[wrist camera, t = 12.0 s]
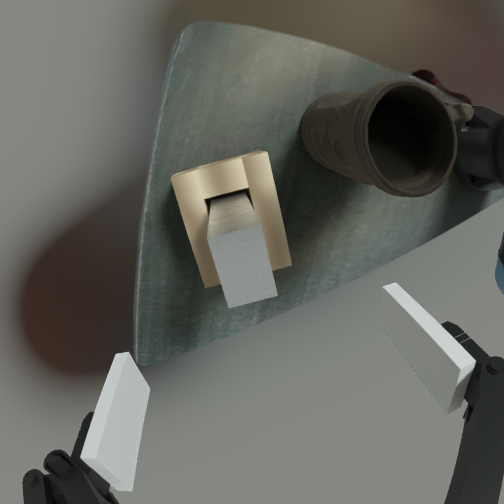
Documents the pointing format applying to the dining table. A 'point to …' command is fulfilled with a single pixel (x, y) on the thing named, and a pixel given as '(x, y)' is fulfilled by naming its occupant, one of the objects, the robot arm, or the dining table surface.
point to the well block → (224, 181)
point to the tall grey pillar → (239, 250)
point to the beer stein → (386, 136)
